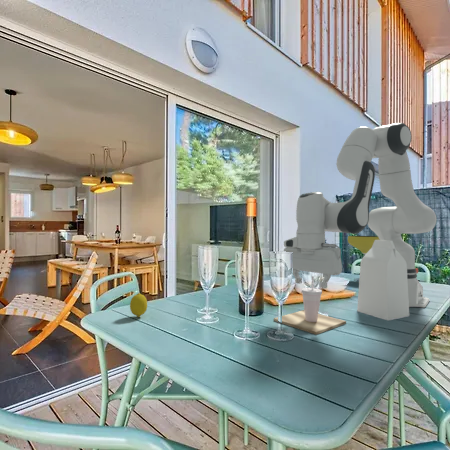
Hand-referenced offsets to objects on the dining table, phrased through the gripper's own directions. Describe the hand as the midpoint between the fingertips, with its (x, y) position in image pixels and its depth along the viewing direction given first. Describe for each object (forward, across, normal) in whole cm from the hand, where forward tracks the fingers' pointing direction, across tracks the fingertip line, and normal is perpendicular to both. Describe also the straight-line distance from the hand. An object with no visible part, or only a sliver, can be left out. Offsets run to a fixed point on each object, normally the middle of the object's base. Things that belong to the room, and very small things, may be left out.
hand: (310, 285), depth 99 cm
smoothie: (+11, 0, 0) cm, 11 cm away
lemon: (+11, +38, +42) cm, 57 cm away
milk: (+12, -10, -28) cm, 33 cm away
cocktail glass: (+13, +26, -87) cm, 92 cm away
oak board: (+12, 0, +1) cm, 12 cm away
